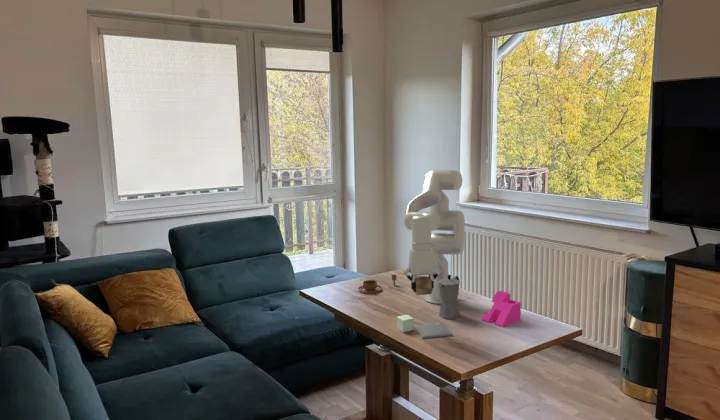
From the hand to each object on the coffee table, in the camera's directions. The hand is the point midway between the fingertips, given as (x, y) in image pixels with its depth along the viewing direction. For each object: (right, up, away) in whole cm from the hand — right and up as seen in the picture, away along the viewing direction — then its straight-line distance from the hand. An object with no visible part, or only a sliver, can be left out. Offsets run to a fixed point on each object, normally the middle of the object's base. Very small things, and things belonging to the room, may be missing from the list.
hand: (422, 290), depth 208 cm
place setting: (-16, -9, +55) cm, 58 cm away
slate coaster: (+4, -16, -1) cm, 17 cm away
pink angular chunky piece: (+34, -14, +8) cm, 37 cm away
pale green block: (-7, -16, +2) cm, 18 cm away
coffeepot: (+14, -13, +17) cm, 26 cm away
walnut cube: (0, -1, 0) cm, 1 cm away
